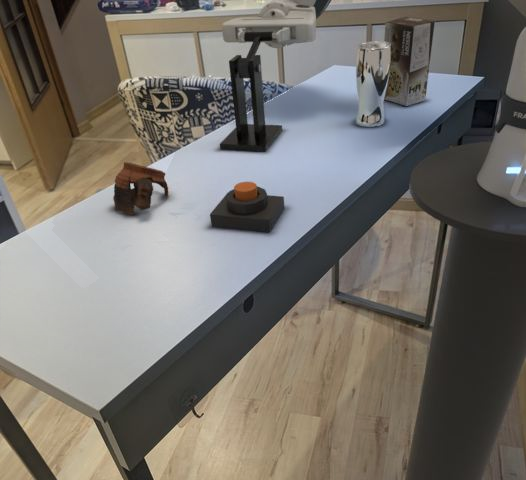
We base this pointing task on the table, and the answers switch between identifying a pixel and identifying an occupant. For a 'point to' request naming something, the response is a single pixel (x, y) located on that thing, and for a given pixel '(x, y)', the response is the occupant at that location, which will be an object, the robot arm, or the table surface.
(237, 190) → the button
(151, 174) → the brown arched piece
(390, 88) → the coffee box
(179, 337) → the table surface
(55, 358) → the table surface
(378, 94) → the beer glass
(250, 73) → the black headphone stand
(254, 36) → the lever handle
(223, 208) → the control block
